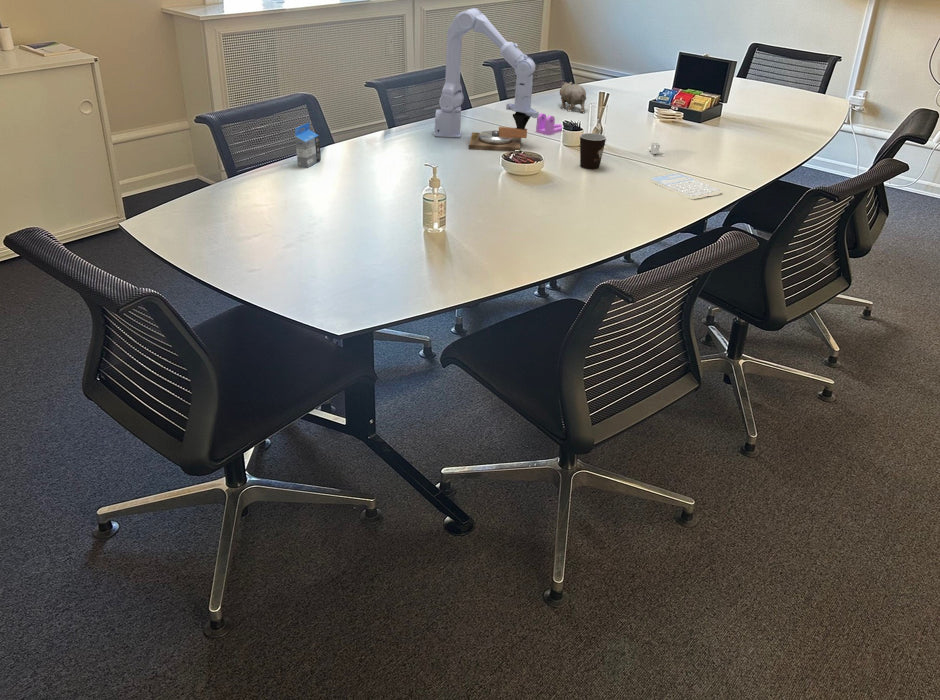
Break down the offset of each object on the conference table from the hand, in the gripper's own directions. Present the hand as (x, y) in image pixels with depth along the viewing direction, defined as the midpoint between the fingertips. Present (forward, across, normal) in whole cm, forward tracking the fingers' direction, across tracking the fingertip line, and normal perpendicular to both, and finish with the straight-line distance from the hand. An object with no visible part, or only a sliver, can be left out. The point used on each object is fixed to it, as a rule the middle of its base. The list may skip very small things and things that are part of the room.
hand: (520, 133), depth 292 cm
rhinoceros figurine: (+4, -28, +56) cm, 62 cm away
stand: (+4, -5, -8) cm, 10 cm away
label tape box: (+4, -21, -74) cm, 77 cm away
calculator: (+4, +64, +11) cm, 66 cm away
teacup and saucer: (+4, +36, +36) cm, 51 cm away
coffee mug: (+4, +33, +3) cm, 33 cm away
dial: (+2, -3, -6) cm, 7 cm away
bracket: (+4, -6, +23) cm, 25 cm away
